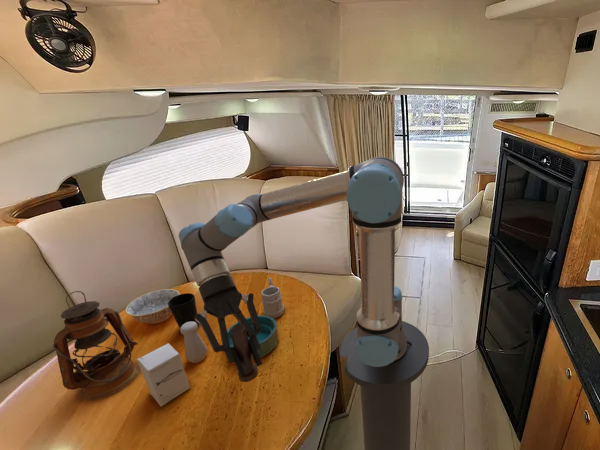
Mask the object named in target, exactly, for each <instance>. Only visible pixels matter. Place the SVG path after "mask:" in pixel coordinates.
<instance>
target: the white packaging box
mask: <svg viewBox="0 0 600 450" xmlns="http://www.w3.org/2000/svg"><path fill="white" fill-rule="evenodd" d="M136 361H137V364H138V367H139V370H140V371H141V374H142V377H143V378H144V382H145V384H146V386H147V389H148V392H149V394H150V396H152V397H153V399H154V400H155V402H156V403H157V404H158V405H159V406H160V407H161V408H162V407H163V406H165V405H166V404H168V403H170V401H172V400H173V399H175V398H177V397H178V396H180V395H182V394H183V393H185V392H186V391H188V390H189V389H191V385H190V382H189V380H188V377H187V374H186V371H185V368H184V364H183V361H182V358H181V355H180V353H179V352H178V351H177V350H176V349H175V348H174V347H173V346H172V345H171V344H170V343H165V344H163V345H162V346H160V347H158V348H156V349H154V350H152V351H150V352H148V353H146V354H145V355H143V356H141V357H138V358H136Z"/></svg>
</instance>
